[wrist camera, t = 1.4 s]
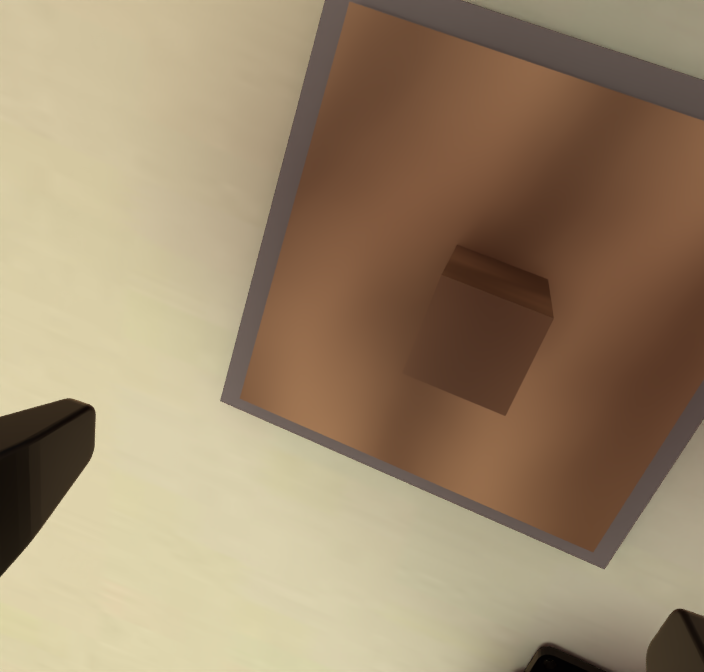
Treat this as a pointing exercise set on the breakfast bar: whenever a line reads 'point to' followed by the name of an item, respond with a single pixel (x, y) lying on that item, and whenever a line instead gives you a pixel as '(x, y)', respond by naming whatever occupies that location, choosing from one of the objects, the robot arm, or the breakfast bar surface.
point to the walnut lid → (489, 276)
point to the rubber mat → (521, 42)
